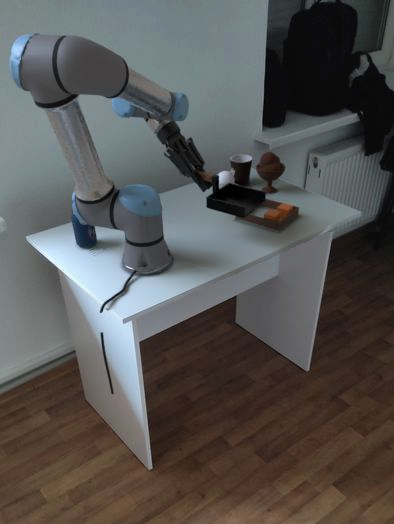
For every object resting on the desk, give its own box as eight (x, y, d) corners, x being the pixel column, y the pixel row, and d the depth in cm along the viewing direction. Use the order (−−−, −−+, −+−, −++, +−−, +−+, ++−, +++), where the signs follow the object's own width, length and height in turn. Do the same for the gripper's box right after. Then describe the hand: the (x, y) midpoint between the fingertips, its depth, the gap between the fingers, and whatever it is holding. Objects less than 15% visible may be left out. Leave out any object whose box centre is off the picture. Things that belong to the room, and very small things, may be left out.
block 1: (263, 214, 170) (275, 216, 169) (269, 209, 173) (280, 211, 171) (263, 225, 173) (274, 228, 171) (268, 220, 176) (279, 223, 174)
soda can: (97, 248, 166) (91, 214, 158) (76, 250, 165) (69, 216, 158) (97, 238, 171) (91, 205, 163) (77, 240, 171) (70, 207, 163)
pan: (170, 197, 168) (168, 174, 162) (193, 183, 176) (192, 160, 170) (244, 218, 155) (244, 193, 149) (265, 202, 163) (266, 178, 157)
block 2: (276, 207, 174) (287, 210, 172) (282, 202, 176) (293, 205, 174) (276, 218, 177) (286, 221, 175) (281, 214, 179) (292, 216, 177)
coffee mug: (252, 187, 199) (253, 162, 192) (230, 188, 199) (230, 162, 192) (250, 176, 207) (251, 151, 201) (229, 176, 208) (229, 152, 201)
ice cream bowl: (283, 196, 191) (286, 156, 181) (253, 195, 193) (255, 156, 183) (284, 185, 199) (287, 146, 189) (255, 184, 201) (257, 146, 191)
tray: (235, 220, 178) (235, 211, 175) (255, 205, 186) (256, 196, 184) (278, 232, 170) (279, 223, 167) (298, 216, 178) (299, 207, 176)
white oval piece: (211, 189, 198) (211, 171, 194) (226, 184, 202) (226, 166, 197) (228, 197, 192) (228, 178, 187) (242, 192, 195) (243, 173, 191)
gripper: (155, 126, 154) (201, 190, 157) (184, 113, 163) (228, 174, 166) (143, 141, 160) (188, 203, 163) (173, 127, 169) (214, 186, 172)
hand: (208, 188), depth 165 cm, fingers closed on pan, 2 cm apart
